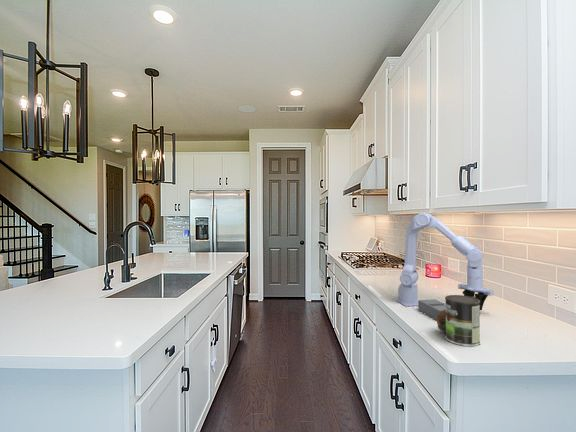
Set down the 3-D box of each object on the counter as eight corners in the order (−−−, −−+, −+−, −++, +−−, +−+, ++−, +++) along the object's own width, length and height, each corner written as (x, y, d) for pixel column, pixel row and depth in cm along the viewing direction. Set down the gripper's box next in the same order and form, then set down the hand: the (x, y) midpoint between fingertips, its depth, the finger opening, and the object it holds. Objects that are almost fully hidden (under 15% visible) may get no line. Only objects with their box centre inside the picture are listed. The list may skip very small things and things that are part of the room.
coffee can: (457, 347, 101) (456, 303, 101) (439, 335, 111) (439, 295, 111) (488, 346, 102) (487, 302, 102) (467, 334, 112) (467, 294, 112)
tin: (441, 335, 111) (441, 311, 111) (435, 332, 114) (435, 309, 114) (476, 330, 115) (475, 307, 115) (469, 327, 118) (468, 305, 118)
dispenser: (436, 309, 142) (436, 299, 142) (459, 321, 126) (459, 309, 126) (418, 310, 141) (418, 300, 141) (439, 322, 125) (439, 310, 125)
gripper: (453, 275, 140) (453, 305, 140) (485, 281, 127) (485, 314, 127) (463, 273, 143) (464, 303, 143) (496, 279, 130) (496, 312, 130)
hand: (475, 308), depth 135 cm, fingers open, 3 cm apart
